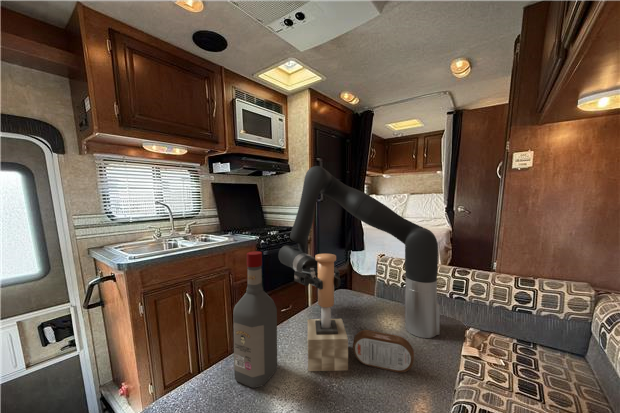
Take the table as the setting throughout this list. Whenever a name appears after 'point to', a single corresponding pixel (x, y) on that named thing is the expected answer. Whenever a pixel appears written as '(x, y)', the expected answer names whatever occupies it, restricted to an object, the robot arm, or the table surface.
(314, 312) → the table surface
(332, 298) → the flanged tan peg
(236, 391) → the table surface
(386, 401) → the table surface
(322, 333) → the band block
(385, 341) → the tin
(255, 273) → the liquor
